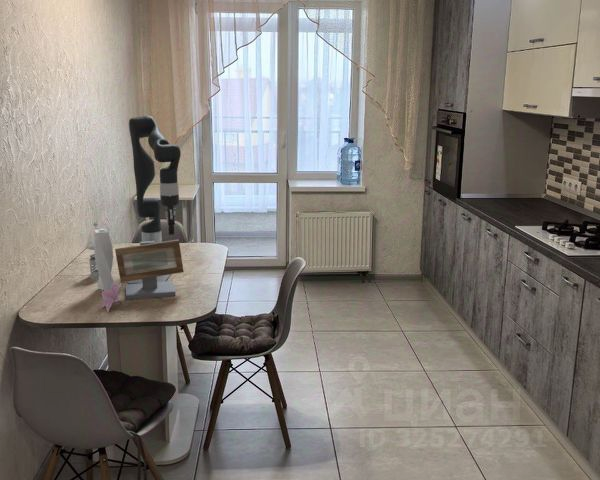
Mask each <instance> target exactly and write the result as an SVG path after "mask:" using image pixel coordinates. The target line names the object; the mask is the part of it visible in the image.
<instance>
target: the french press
mask: <svg viewBox="0 0 600 480" xmlns="http://www.w3.org/2000/svg"><path fill="white" fill-rule="evenodd" d="M93 226H94V227H95V228H97V226H98V222H94V223H93ZM87 249H88V250H90V251H94V243H93V244H90V245H89V246H88V247H87ZM89 257H90V258H89V259H88V261H89V267H90V268H89V269H90V270H89V272H90V274H88V278H89V279H92V280H93V279H96V280H99V272H98V269H97V265H96V260H95V253H92V254H90V255H89Z"/></svg>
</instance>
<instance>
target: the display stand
mask: <svg viewBox="0 0 600 480" xmlns="http://www.w3.org/2000/svg"><path fill="white" fill-rule="evenodd" d="M151 243H155V241H144V242H142V241H139V245H145V244H151ZM169 296H170V297H171V296H176V288H175V284H174V281H173V280H167V281H164V282H157V277H151V278H145V279H142V283H139V284H127V283H126V284H125V299H126V300H135V299H136V300H138V299H146V298H147V299H149V298H158V297H159V298H162V297H169Z"/></svg>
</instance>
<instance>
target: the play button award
mask: <svg viewBox="0 0 600 480" xmlns="http://www.w3.org/2000/svg"><path fill="white" fill-rule="evenodd" d="M172 275H173V274H169V275H163V276H157V282H164V281H169V279H170V277H172ZM139 283H142V279H139V280H133V281H127V283H126V284H139Z"/></svg>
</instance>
